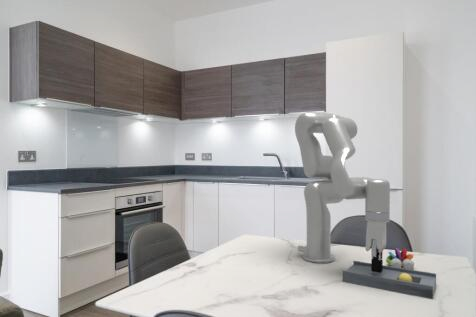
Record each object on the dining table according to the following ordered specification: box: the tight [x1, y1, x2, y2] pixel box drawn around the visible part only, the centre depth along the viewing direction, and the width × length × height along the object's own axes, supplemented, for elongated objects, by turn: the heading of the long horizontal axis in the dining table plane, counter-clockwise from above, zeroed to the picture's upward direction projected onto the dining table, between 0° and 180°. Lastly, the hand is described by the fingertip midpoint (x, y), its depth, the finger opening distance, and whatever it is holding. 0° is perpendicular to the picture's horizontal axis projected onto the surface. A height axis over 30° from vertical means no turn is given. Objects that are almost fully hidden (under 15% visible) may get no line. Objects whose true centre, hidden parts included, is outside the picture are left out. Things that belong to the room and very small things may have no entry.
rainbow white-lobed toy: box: [385, 247, 415, 270], centre depth 130 cm, size 8×10×7 cm
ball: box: [398, 273, 412, 282], centre depth 110 cm, size 4×4×4 cm
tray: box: [342, 260, 437, 300], centre depth 113 cm, size 26×14×4 cm, turn 57°
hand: (376, 271), depth 115 cm, fingers closed
